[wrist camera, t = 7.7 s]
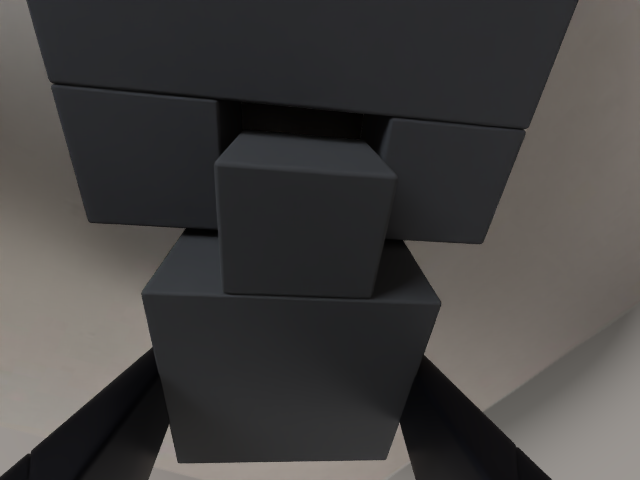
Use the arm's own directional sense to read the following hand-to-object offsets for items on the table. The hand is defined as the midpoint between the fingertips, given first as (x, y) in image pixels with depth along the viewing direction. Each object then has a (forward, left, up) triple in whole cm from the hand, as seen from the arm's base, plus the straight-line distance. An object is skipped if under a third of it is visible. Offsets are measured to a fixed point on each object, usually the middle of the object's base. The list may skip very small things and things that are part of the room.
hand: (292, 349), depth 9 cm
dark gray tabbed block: (0, -1, -1) cm, 2 cm away
